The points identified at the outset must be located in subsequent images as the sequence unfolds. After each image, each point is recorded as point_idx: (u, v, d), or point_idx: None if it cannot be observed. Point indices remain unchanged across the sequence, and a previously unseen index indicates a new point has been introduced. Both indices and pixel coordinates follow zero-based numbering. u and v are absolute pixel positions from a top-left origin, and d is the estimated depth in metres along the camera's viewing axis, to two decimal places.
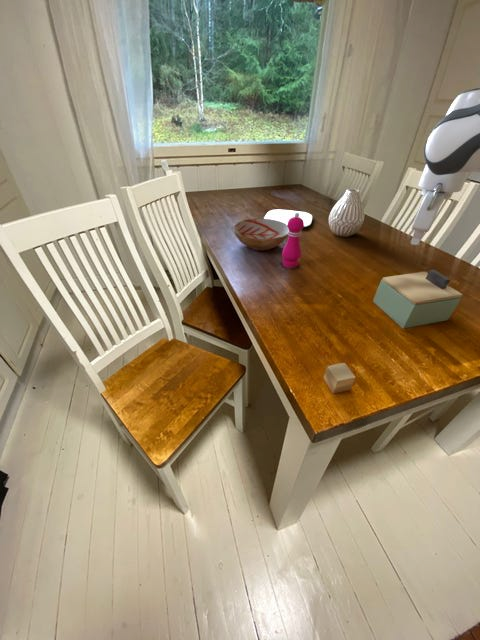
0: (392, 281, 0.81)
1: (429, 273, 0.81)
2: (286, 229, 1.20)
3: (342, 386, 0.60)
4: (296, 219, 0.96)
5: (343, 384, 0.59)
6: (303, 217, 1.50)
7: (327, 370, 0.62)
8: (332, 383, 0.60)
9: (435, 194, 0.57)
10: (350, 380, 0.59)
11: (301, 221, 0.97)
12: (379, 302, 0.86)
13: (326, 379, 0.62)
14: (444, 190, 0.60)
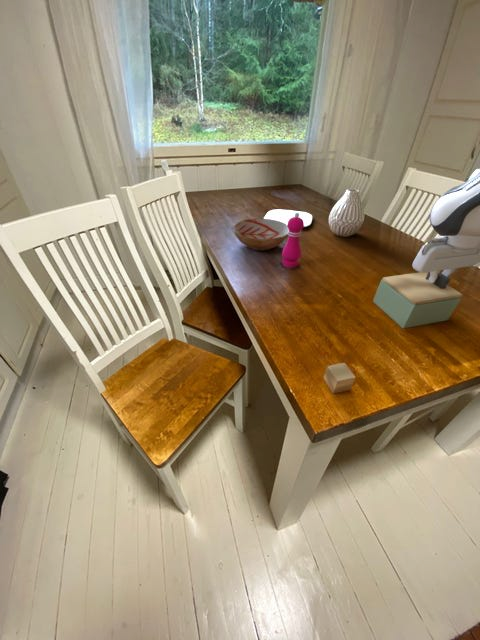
0: (392, 281, 0.81)
1: (429, 273, 0.81)
2: (286, 229, 1.20)
3: (342, 386, 0.60)
4: (296, 219, 0.96)
5: (343, 384, 0.59)
6: (303, 217, 1.50)
7: (327, 370, 0.62)
8: (332, 383, 0.60)
9: (427, 243, 0.70)
10: (350, 380, 0.59)
11: (301, 221, 0.97)
12: (379, 302, 0.86)
13: (326, 379, 0.62)
14: (449, 243, 0.70)
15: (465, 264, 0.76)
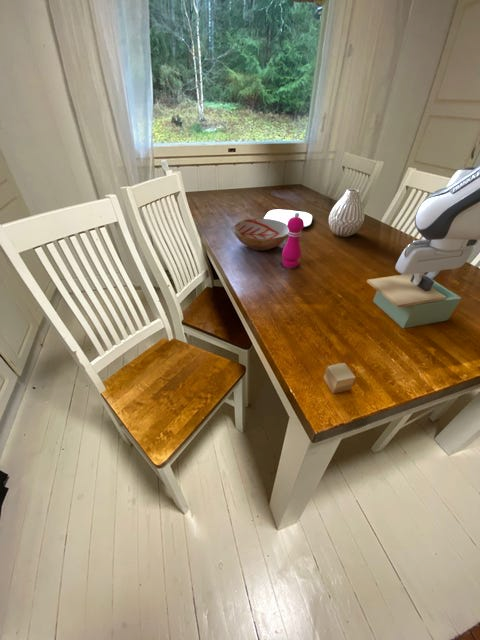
0: (376, 283, 0.80)
1: (413, 275, 0.80)
2: (286, 229, 1.20)
3: (342, 386, 0.60)
4: (296, 219, 0.96)
5: (343, 384, 0.59)
6: (303, 217, 1.50)
7: (327, 370, 0.62)
8: (332, 383, 0.60)
9: (409, 245, 0.69)
10: (350, 380, 0.59)
11: (301, 221, 0.97)
12: (379, 302, 0.86)
13: (326, 379, 0.62)
14: (432, 245, 0.69)
15: (449, 266, 0.75)
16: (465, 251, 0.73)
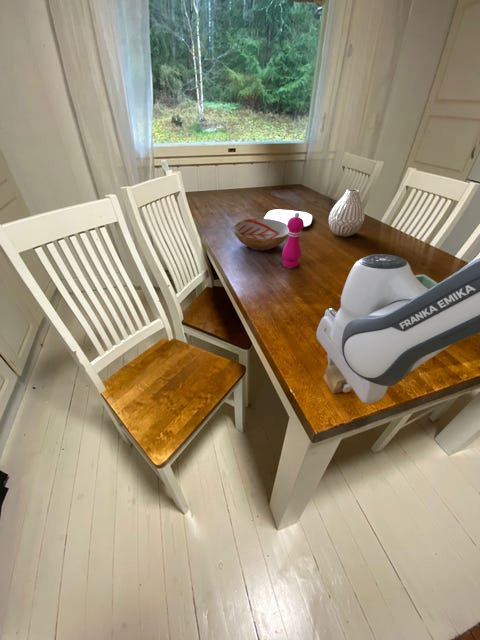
0: None
1: None
2: (286, 229, 1.20)
3: None
4: (296, 219, 0.96)
5: None
6: (303, 217, 1.50)
7: (327, 369, 0.62)
8: (332, 383, 0.60)
9: (327, 309, 0.61)
10: None
11: (301, 221, 0.97)
12: None
13: (326, 379, 0.62)
14: None
15: (350, 382, 0.54)
16: (363, 377, 0.49)
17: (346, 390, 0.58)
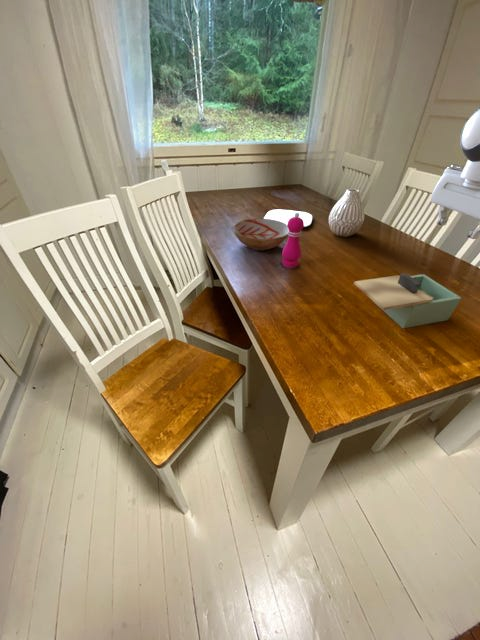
0: (363, 285, 0.79)
1: (401, 277, 0.79)
2: (286, 229, 1.20)
3: None
4: (296, 219, 0.96)
5: None
6: (303, 217, 1.50)
7: None
8: None
9: (447, 168, 0.70)
10: None
11: (301, 221, 0.97)
12: None
13: None
14: None
15: None
16: None
17: (475, 236, 0.65)
